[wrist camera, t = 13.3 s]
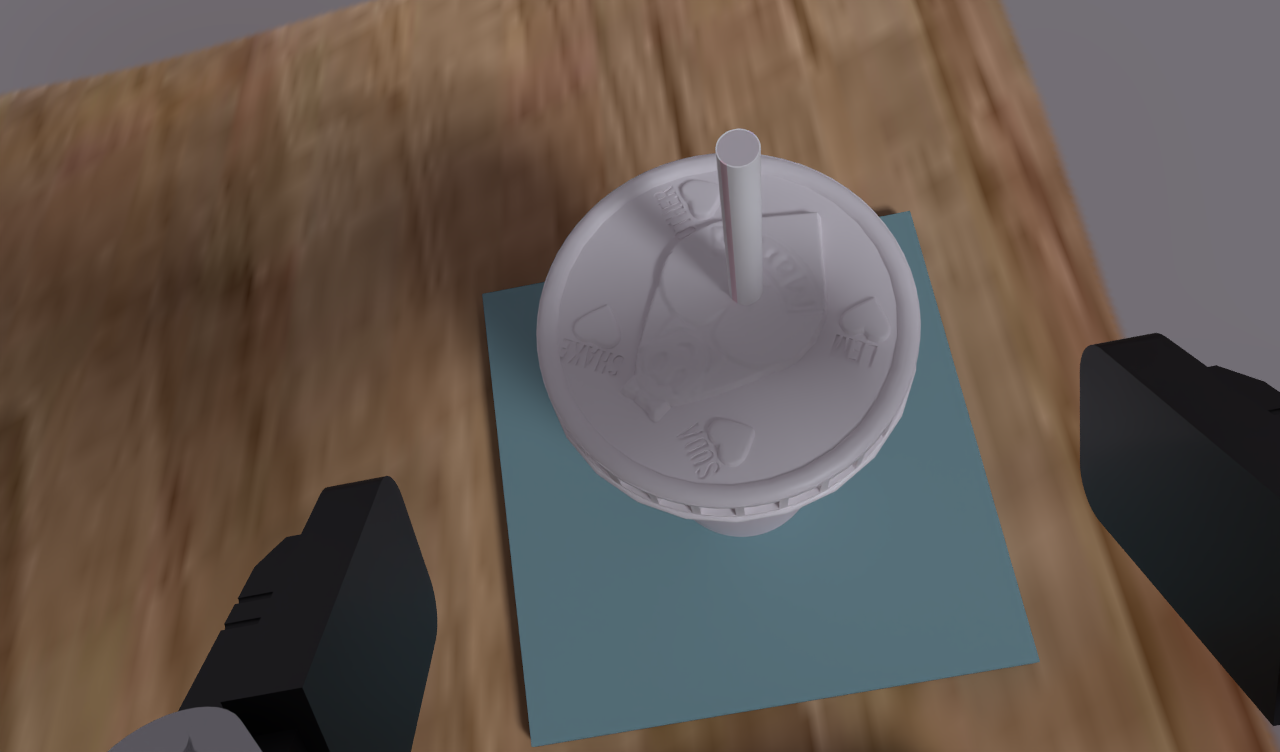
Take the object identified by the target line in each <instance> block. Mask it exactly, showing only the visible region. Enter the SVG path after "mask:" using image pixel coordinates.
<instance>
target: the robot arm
mask: <svg viewBox="0 0 1280 752" xmlns="http://www.w3.org/2000/svg"><path fill="white" fill-rule="evenodd" d="M1080 469H1081V477H1082V482H1083V486H1084V490H1085V493H1086V496H1087V499H1088V502H1089V504H1090V506H1091V508H1092V510H1093V512H1094V514H1095V515H1096V517H1097V518H1098V520H1099V521H1100V522H1101V523H1102V525H1103V526H1104V527H1105V528H1106V529H1107V531H1108V532H1109V533H1110V534H1111V535H1112V536H1113V538H1114V539H1115V540H1116V541H1117V542H1118V544H1119V545H1120V546H1121V547H1122V548H1123V549H1124V551H1125V552H1126V553H1127V554H1128V555H1129V557H1130V558H1131V559H1132V560H1133V561H1134V562H1135V564H1136V565H1137V566H1138V567H1139V568H1140V569H1141V571H1142V572H1143V573H1144V574H1145V575H1146V577H1147V578H1148V579H1149V580H1150V581H1151V582H1152V584H1153V585H1154V586H1155V587H1156V588H1157V590H1158V591H1159V592H1160V593H1161V594H1162V595H1163V597H1164V598H1165V599H1166V600H1167V601H1168V603H1169V604H1170V605H1171V606H1172V607H1173V608H1174V610H1175V611H1176V612H1177V613H1178V614H1179V616H1180V617H1181V618H1182V619H1183V620H1184V621H1185V623H1186V624H1187V625H1188V626H1189V627H1190V629H1191V630H1192V631H1193V632H1194V633H1195V634H1196V636H1197V637H1198V638H1199V639H1200V640H1201V641H1202V643H1203V644H1204V645H1205V646H1206V647H1207V649H1208V650H1209V651H1210V652H1211V653H1212V654H1213V656H1214V657H1215V658H1216V659H1217V660H1218V662H1219V663H1220V664H1221V665H1222V666H1223V667H1224V669H1225V670H1226V671H1227V672H1228V673H1229V675H1230V676H1231V677H1232V678H1233V679H1234V680H1235V682H1236V683H1237V684H1238V685H1239V686H1240V688H1241V689H1242V690H1243V691H1244V692H1245V693H1246V695H1247V696H1248V697H1249V698H1250V699H1251V701H1252V702H1253V703H1254V704H1255V705H1256V706H1257V708H1258V709H1259V710H1260V711H1261V712H1262V713H1263V715H1264V716H1265V717H1266V718H1267V719H1268V721H1269V722H1270V723H1271V724H1272V725H1273V726H1276V725H1280V392H1279V391H1277V390H1276V389H1274V388H1273V387H1271V386H1270V385H1268V384H1267V383H1265V382H1264V381H1261V380H1258V379H1255V378H1252V377H1249V376H1246V375H1243V374H1240V373H1237V372H1234V371H1231V370H1228V369H1225V368H1222V367H1219V366H1217V365H1216V366H1211V367H1207V366H1205V365H1204V364H1203V363H1201V362H1200V361H1199V360H1197V359H1196V358H1194V357H1193V356H1192V355H1190V354H1189V353H1187V352H1186V351H1185V350H1183V349H1182V348H1180V347H1179V346H1178V345H1176V344H1175V343H1173V342H1172V341H1171V340H1169V339H1168V338H1167V337H1165V336H1163V335H1162V334H1159V333H1153V334H1147V335H1142V336H1137V337H1131V338H1126V339H1121V340H1115V341H1110V342H1105V343H1099V344H1094V345H1090V346H1088V347H1087V348H1086V349H1085V350H1084V352H1083V354H1082V357H1081V363H1080ZM238 599H239V604H235V605H234V607H233V609H232V611H231V613H230V614H229V616H228V618H227V620H226V622H225V630H221V631H220V633H219V635H218V637H217V639H216V641H215V643H214V645H213V646H212V648H211V650H210V652H209V654H208V656H207V658H206V660H205V662H204V663H203V665H202V667H201V669H200V671H199V673H198V675H197V677H196V679H195V680H194V682H193V684H192V686H191V688H190V690H189V692H188V694H187V696H186V697H185V699H184V701H183V703H182V705H181V707H180V709H179V711H178V712H175V713H172V714H169V715H166V716H164V717H162V718H159V719H157V720H154V721H152V722H151V723H149V724H147V725H145V726H143V727H141V728H139V729H138V730H136V731H135V732H133V733H131V734H130V735H128V736H127V737H125V738H124V739H123V740H121V741H120V742H119V743H117V744H116V745H115V746H113V747H112V748H111V749H110V750H109V751H108V752H411V748H412V744H413V739H414V735H415V730H416V726H417V721H418V717H419V712H420V708H421V703H422V699H423V694H424V690H425V685H426V681H427V676H428V672H429V668H430V663H431V659H432V654H433V650H434V645H435V641H436V635H437V609H436V601H435V596H434V591H433V587H432V583H431V580H430V577H429V574H428V571H427V568H426V566H425V563H424V560H423V557H422V554H421V551H420V548H419V545H418V542H417V539H416V536H415V533H414V530H413V527H412V524H411V521H410V519H409V516H408V513H407V510H406V507H405V504H404V501H403V498H402V495H401V493H400V490H399V488H398V486H397V484H396V483H395V481H394V480H393V479H392V478H391V477H389V476H385V477H379V478H374V479H369V480H364V481H358V482H353V483H348V484H342V485H337V486H332V487H327V488H325V489H324V490H323V491H322V492H321V494H320V496H319V498H318V500H317V502H316V505H315V507H314V509H313V511H312V513H311V515H310V517H309V519H308V521H307V523H306V525H305V527H304V529H303V531H302V534H301V535H295V536H290V537H286V538H285V539H284V540H283V541H282V542H281V543H279V544H278V545H277V546H276V547H275V548H274V549H273V550H272V551H271V552H270V553H269V554H268V555H267V556H266V557H265V558H264V559H263V560H262V561H260V562H259V563H258V564H257V565H256V566H255V567H254V569H253V571H252V573H251V575H250V577H249V579H248V580H247V582H246V584H245V586H244V588H243V590H242V592H241V594H240V596H239V597H238Z"/></svg>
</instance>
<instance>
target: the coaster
mask: <svg viewBox="0 0 1280 752" xmlns="http://www.w3.org/2000/svg"><path fill="white" fill-rule="evenodd" d="M879 218H880V219H881V220H882V221H883V222H884V223H885V224H886V226H887V227H888V229H889V230H890V232H891V233H892V234H893V236H894V237H895V239H896V241H897V242H898V244H899V246H900V248H901V250H902V251H903V253H904V255H905V258H906V260H907V262H908V265H909V267H910V269H911V272H912V275H913V279H914V282H915V285H916V289H917V295H918V300H919V306H920V319H921V331H920V345H919V353H918V359H917V363H916V373H915V376H914V379H913V382H912V385H911V389H910V392H909V395H908V398H907V402H906V405H905V408H904V411H903V415H902V417H901V419H900V420H899V422H898V423H897V425H896V426H895V428H894V429H893V431H892V432H891V434H890V435H889V437H888V438H887V440H886V441H885V443H884V444H883V446H882V447H881V449H880V450H879V452H878V453H877V455H876V456H875V458H874V459H872V460H871V461H870V462H869V463H868V464H867V465H866V466H864V467H863V468H862V469H861V470H860V471H859V472H857V473H856V474H855V475H854V476H853V477H852V478H850V479H849V480H848V481H847V482H846V483H845V484H843V485H842V486H841V487H840V488H839V489H838V490H836V491H835V492H833V493H831V494H829V495H826V496H824V497H822V498H820V499H818V500H816V501H814V502H812V503H810V504H808V505H805V506H803V507H801V508H800V509H799V510H798V511H797V513H796V514H795V515H794V516H793V517H792V518H790V519H789V520H788V521H787V522H786V523H784V524H783V525H781V526H780V527H778V528H776V529H774V530H772V531H769V532H767V533H764V534H760V535H756V536H749V537H734V536H727V535H723V534H719V533H716V532H714V531H711V530H709V529H707V528H705V527H703V526H702V525H700V524H699V523H697V522H696V521H694V520H692V519H684V518H681V517H679V516H676V515H673V514H670V513H667V512H664V511H661V510H659V509H656V508H653V507H650V506H647V505H644V504H641V503H639V502H637V501H635V500H634V499H632V498H631V497H629V496H628V495H627V494H625V493H624V492H622V491H621V490H619V489H618V488H616V487H615V486H613V485H612V484H611V483H609V482H608V481H606V480H605V479H603V478H602V477H600V476H599V475H598V474H596V472H595V471H594V470H593V469H592V468H591V466H590V465H589V464H588V463H587V462H586V460H585V459H584V458H583V457H582V455H581V454H580V453H579V452H578V451H577V449H576V448H575V447H574V446H573V445H572V443H571V442H570V441H569V440H568V439H567V437H566V435H565V433H564V430H563V428H562V426H561V424H560V421H559V419H558V417H557V415H556V412H555V410H554V408H553V405H552V403H551V401H550V399H549V396H548V393H547V390H546V388H545V385H544V382H543V378H542V374H541V370H540V366H539V359H538V353H537V336H536V330H537V315H538V309H539V303H540V298H541V294H542V290H543V287H544V283H545V282H542V283H536V284H531V285H526V286H521V287H516V288H511V289H506V290H500V291H495V292H490V293H485V294H482V296H483V305H484V315H485V324H486V333H487V342H488V351H489V360H490V370H491V379H492V388H493V397H494V406H495V415H496V424H497V434H498V443H499V452H500V461H501V470H502V479H503V489H504V498H505V507H506V516H507V525H508V534H509V544H510V553H511V562H512V571H513V580H514V589H515V599H516V608H517V617H518V626H519V635H520V644H521V653H522V663H523V672H524V681H525V690H526V699H527V708H528V718H529V727H530V736H531V745H532V747H537V746H543V745H549V744H555V743H561V742H567V741H573V740H579V739H585V738H591V737H597V736H603V735H609V734H614V733H620V732H626V731H632V730H638V729H644V728H650V727H656V726H662V725H668V724H674V723H680V722H686V721H692V720H698V719H704V718H710V717H716V716H722V715H728V714H734V713H740V712H746V711H752V710H758V709H764V708H770V707H776V706H781V705H787V704H793V703H799V702H805V701H811V700H817V699H823V698H829V697H835V696H841V695H847V694H853V693H859V692H865V691H871V690H877V689H883V688H889V687H895V686H901V685H907V684H913V683H919V682H925V681H931V680H937V679H943V678H949V677H954V676H960V675H966V674H972V673H978V672H984V671H990V670H996V669H1002V668H1008V667H1014V666H1020V665H1026V664H1032V663H1036V662H1040V661H1039V657H1038V654H1037V650H1036V647H1035V643H1034V640H1033V636H1032V633H1031V629H1030V626H1029V623H1028V619H1027V616H1026V612H1025V609H1024V605H1023V602H1022V598H1021V595H1020V591H1019V588H1018V584H1017V581H1016V577H1015V574H1014V570H1013V567H1012V564H1011V560H1010V557H1009V553H1008V550H1007V546H1006V543H1005V539H1004V536H1003V532H1002V529H1001V525H1000V522H999V518H998V515H997V512H996V508H995V505H994V501H993V498H992V494H991V491H990V487H989V484H988V480H987V477H986V473H985V470H984V466H983V463H982V459H981V456H980V453H979V449H978V446H977V442H976V439H975V435H974V432H973V428H972V425H971V421H970V418H969V414H968V411H967V407H966V404H965V400H964V397H963V394H962V390H961V387H960V383H959V380H958V376H957V373H956V369H955V366H954V362H953V359H952V355H951V352H950V348H949V345H948V342H947V338H946V335H945V331H944V328H943V324H942V321H941V317H940V314H939V310H938V307H937V303H936V300H935V296H934V293H933V289H932V286H931V283H930V279H929V276H928V272H927V269H926V265H925V262H924V258H923V255H922V251H921V248H920V244H919V241H918V237H917V234H916V230H915V227H914V224H913V220H912V217H911V213H910V211H907V212H902V213H897V214H892V215H886V216H881V217H879Z"/></svg>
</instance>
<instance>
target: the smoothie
mask: <svg viewBox="0 0 1280 752" xmlns="http://www.w3.org/2000/svg"><path fill="white" fill-rule="evenodd" d="M920 331H921V319H920V306H919V300H918V295H917V289H916V285H915V282H914V279H913V275H912V272H911V269H910V267H909V265H908V262H907V260H906V258H905V255H904V253H903V251H902V250H901V248H900V246H899V244H898V242H897V241H896V239H895V237H894V236H893V234H892V233H891V232H890V230H889V229H888V227H887V226H886V224H885V223H884V222H883V221H882V220H881V219H880V218H879V216H878V215H877V214H876V213H875V212H874V211H873V210H872V209H871V208H870V207H869V206H868V205H867V204H866V203H865V202H864V201H863V200H862V199H861V198H859V197H858V196H857V195H855V194H854V193H853V192H852V191H850V190H849V189H848V188H846V187H845V186H843V185H841V184H840V183H838V182H837V181H835V180H834V179H832V178H830V177H828V176H826V175H824V174H822V173H820V172H818V171H816V170H814V169H811V168H809V167H806V166H804V165H801V164H798V163H795V162H792V161H788V160H785V159H781V158H776V157H771V156H767V155H761V145H760V141H759V139H758V138H757V136H756V135H755V134H754V133H752V132H750V131H748V130H745V129H733V130H730V131H727V132H726V133H724V134H723V135H722V136H721V137H720V138H719V139H718V141H717V144H716V154H707V155H700V156H694V157H689V158H685V159H680V160H677V161H673V162H670V163H667V164H664V165H661V166H659V167H656V168H654V169H651V170H649V171H646V172H644V173H642V174H640V175H638V176H637V177H635V178H633V179H631V180H629V181H627V182H626V183H624V184H623V185H621V186H619V187H618V188H616V189H615V190H614V191H612V192H611V193H610V194H608V195H607V196H606V197H604V198H603V199H602V200H601V201H599V202H598V203H597V204H596V205H595V206H594V207H593V208H592V209H591V210H590V211H589V212H588V213H587V214H586V215H585V216H584V217H583V218H582V219H581V220H580V221H579V222H578V224H577V225H576V226H575V227H574V229H573V230H572V231H571V233H570V234H569V235H568V237H567V238H566V240H565V241H564V243H563V245H562V246H561V248H560V249H559V251H558V253H557V255H556V257H555V259H554V261H553V263H552V265H551V267H550V270H549V272H548V275H547V278H546V280H545V283H544V287H543V290H542V294H541V298H540V303H539V309H538V315H537V330H536V336H537V353H538V359H539V366H540V370H541V374H542V378H543V382H544V385H545V388H546V390H547V393H548V396H549V399H550V401H551V403H552V405H553V408H554V410H555V412H556V415H557V417H558V419H559V421H560V424H561V426H562V428H563V430H564V433H565V435H566V437H567V439H568V440H569V441H570V442H571V443H572V445H573V446H574V447H575V448H576V449H577V451H578V452H579V453H580V454H581V455H582V457H583V458H584V459H585V460H586V462H587V463H588V464H589V465H590V466H591V468H592V469H593V470H594V471H595V472H596V474H598V475H599V476H600V477H602V478H603V479H605V480H606V481H608V482H609V483H611V484H612V485H613V486H615V487H616V488H618V489H619V490H621V491H622V492H624V493H625V494H627V495H628V496H629V497H631V498H632V499H634V500H635V501H637V502H639V503H641V504H644V505H647V506H650V507H653V508H656V509H659V510H661V511H664V512H667V513H670V514H673V515H676V516H679V517H681V518H684V519H692V520H694V521H696V522H697V523H699V524H700V525H702V526H703V527H705V528H707V529H709V530H711V531H714V532H716V533H719V534H723V535H727V536H734V537H749V536H756V535H760V534H764V533H767V532H769V531H772V530H774V529H776V528H778V527H780V526H781V525H783V524H784V523H786V522H787V521H788V520H789V519H790V518H792V517H793V516H794V515H795V514H796V513H797V511H798V510H799V509H800V508H801V507H803V506H805V505H808V504H810V503H812V502H814V501H816V500H818V499H820V498H822V497H824V496H826V495H829V494H831V493H833V492H835V491H836V490H838V489H839V488H840V487H841V486H842V485H843V484H845V483H846V482H847V481H848V480H849V479H850V478H852V477H853V476H854V475H855V474H856V473H857V472H859V471H860V470H861V469H862V468H863V467H864V466H866V465H867V464H868V463H869V462H870V461H871V460H872V459H874V458H875V456H876V455H877V453H878V452H879V450H880V449H881V447H882V446H883V444H884V443H885V441H886V440H887V438H888V437H889V435H890V434H891V432H892V431H893V429H894V428H895V426H896V425H897V423H898V422H899V420H900V419H901V417H902V415H903V411H904V408H905V405H906V402H907V398H908V395H909V392H910V389H911V385H912V382H913V379H914V376H915V373H916V363H917V359H918V353H919V345H920Z"/></svg>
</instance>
